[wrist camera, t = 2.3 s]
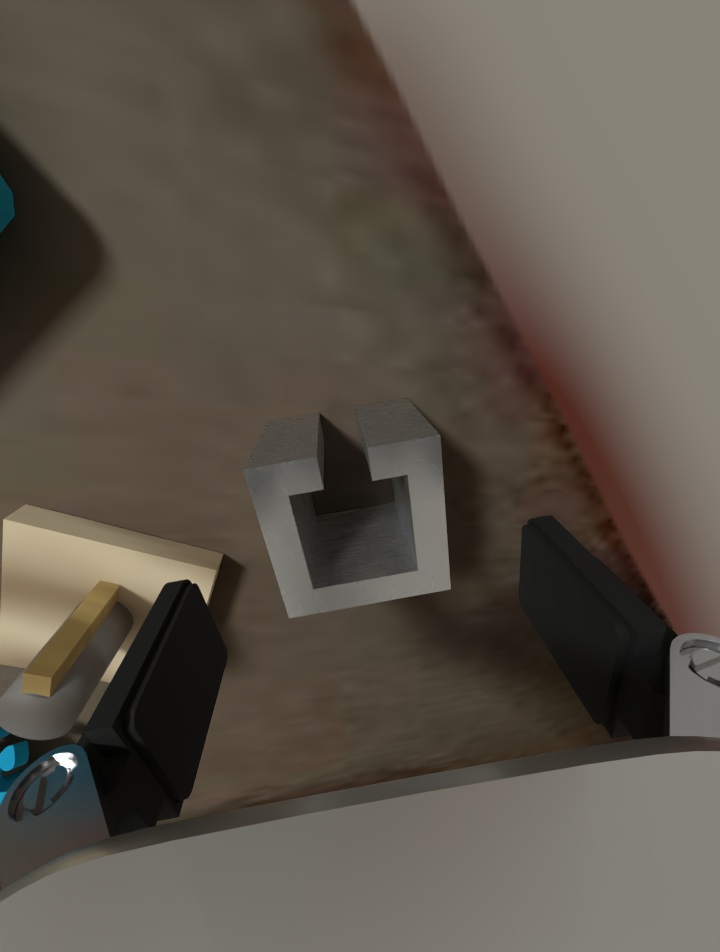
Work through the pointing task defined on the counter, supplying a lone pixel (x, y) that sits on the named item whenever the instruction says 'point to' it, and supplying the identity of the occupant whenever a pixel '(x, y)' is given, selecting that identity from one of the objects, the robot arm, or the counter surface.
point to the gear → (11, 762)
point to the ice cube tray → (5, 204)
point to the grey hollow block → (352, 512)
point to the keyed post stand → (77, 609)
